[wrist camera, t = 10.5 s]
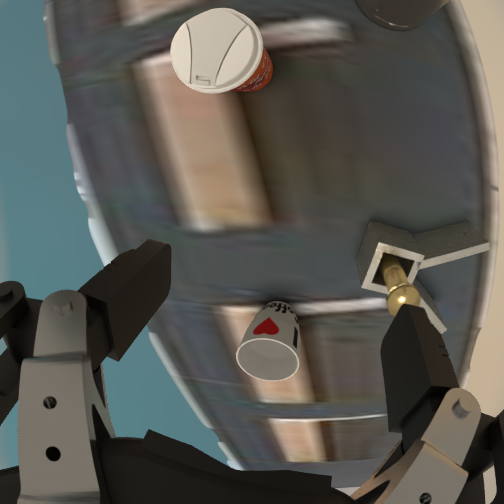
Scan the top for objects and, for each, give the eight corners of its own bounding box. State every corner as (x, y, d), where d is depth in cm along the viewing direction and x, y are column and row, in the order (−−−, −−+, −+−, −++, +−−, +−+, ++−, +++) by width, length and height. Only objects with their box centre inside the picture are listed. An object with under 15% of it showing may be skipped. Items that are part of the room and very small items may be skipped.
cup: (314, 306, 43) (310, 353, 34) (291, 341, 47) (282, 388, 38) (264, 284, 43) (248, 328, 34) (245, 321, 47) (228, 366, 38)
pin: (374, 230, 36) (396, 284, 25) (397, 237, 36) (426, 292, 24) (366, 253, 38) (382, 313, 26) (389, 259, 37) (411, 320, 26)
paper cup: (275, 105, 32) (248, 99, 20) (214, 94, 33) (157, 88, 20) (288, 46, 28) (269, 7, 16) (226, 37, 29) (175, 3, 17)
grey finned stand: (378, 190, 34) (390, 207, 28) (469, 222, 32) (492, 243, 26) (346, 284, 40) (349, 314, 34) (431, 304, 38) (444, 334, 32)
